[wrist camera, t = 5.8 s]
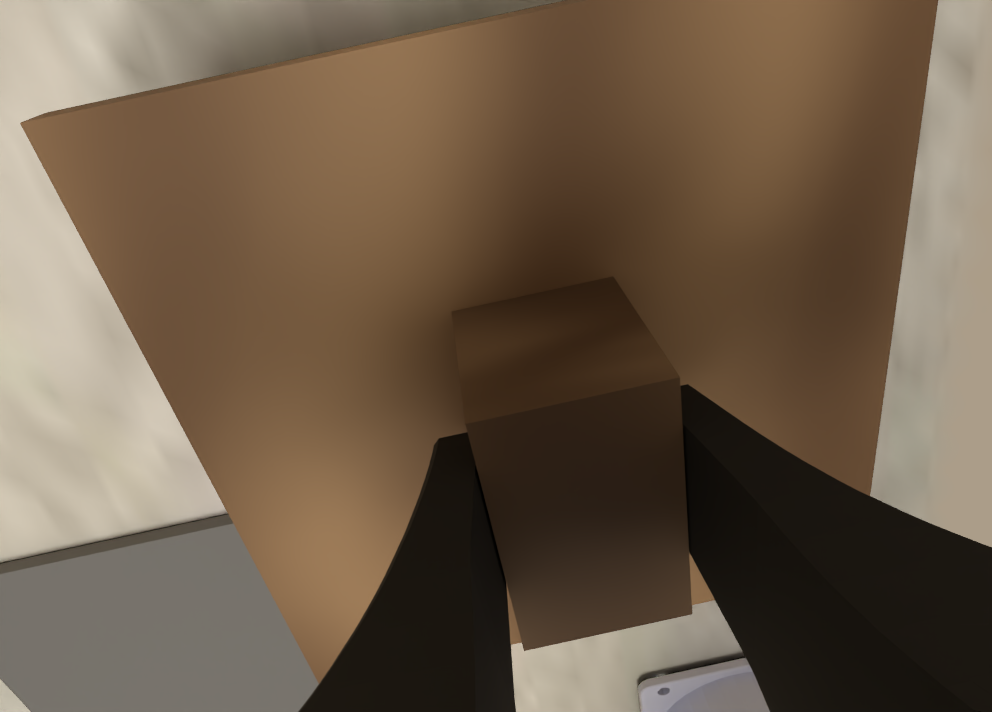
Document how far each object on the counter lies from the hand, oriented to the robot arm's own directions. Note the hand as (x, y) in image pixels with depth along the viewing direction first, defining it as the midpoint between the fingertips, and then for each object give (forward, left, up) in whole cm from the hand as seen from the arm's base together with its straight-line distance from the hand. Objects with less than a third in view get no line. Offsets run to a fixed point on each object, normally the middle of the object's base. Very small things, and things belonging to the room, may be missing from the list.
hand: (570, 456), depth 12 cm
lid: (0, 0, -3) cm, 3 cm away
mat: (+12, +14, -8) cm, 20 cm away
